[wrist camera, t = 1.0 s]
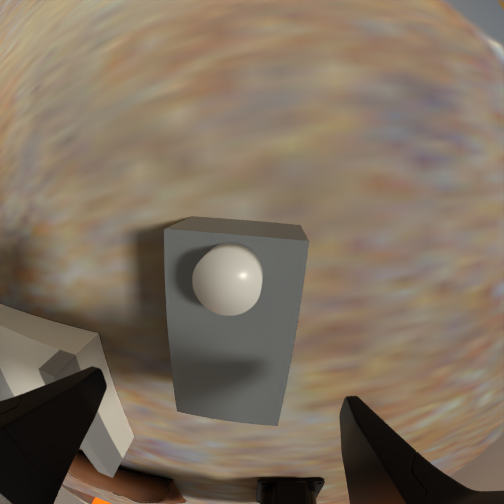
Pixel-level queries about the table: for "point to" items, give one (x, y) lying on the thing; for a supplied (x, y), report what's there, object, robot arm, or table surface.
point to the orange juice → (99, 501)
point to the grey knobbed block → (232, 314)
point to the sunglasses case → (127, 483)
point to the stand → (62, 376)
